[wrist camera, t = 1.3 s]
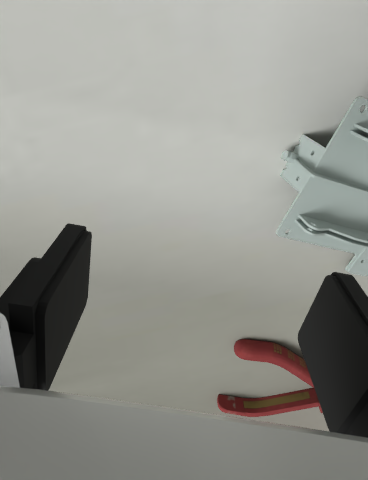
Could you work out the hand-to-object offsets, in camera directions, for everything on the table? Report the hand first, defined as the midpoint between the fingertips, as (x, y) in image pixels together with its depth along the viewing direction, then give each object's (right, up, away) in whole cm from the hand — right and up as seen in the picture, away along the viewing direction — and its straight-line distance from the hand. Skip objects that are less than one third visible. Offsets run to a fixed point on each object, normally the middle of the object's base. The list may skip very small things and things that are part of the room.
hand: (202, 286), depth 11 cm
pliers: (+13, -16, +30) cm, 37 cm away
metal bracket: (+14, +7, +17) cm, 23 cm away
